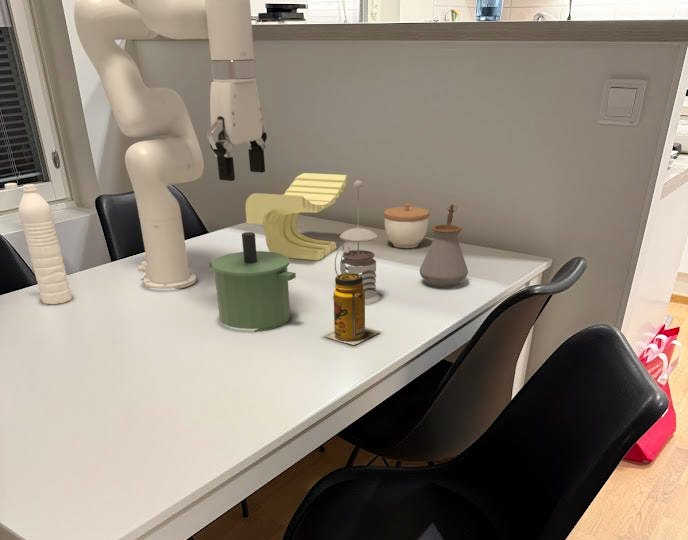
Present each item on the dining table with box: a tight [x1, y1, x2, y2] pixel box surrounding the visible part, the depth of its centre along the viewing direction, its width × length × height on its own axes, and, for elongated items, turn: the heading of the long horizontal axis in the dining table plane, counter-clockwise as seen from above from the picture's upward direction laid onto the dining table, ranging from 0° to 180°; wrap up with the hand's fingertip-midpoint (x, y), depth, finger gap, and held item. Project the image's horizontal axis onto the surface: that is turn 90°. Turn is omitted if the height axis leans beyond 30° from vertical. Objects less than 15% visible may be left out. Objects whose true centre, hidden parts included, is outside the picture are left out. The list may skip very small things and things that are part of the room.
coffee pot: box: [419, 204, 469, 289], centre depth 162 cm, size 21×12×15 cm, turn 168°
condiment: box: [325, 272, 380, 346], centre depth 132 cm, size 7×8×12 cm
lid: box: [211, 231, 290, 276], centre depth 136 cm, size 16×16×7 cm
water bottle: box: [4, 182, 73, 305], centre depth 149 cm, size 9×6×25 cm
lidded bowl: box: [383, 203, 431, 249], centre depth 189 cm, size 13×13×11 cm
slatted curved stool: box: [244, 172, 348, 261], centre depth 183 cm, size 30×16×18 cm, turn 159°
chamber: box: [208, 261, 297, 332], centre depth 141 cm, size 15×20×12 cm
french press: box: [334, 179, 381, 305], centre depth 147 cm, size 10×12×25 cm
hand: (242, 175), depth 129 cm, fingers open, 9 cm apart
